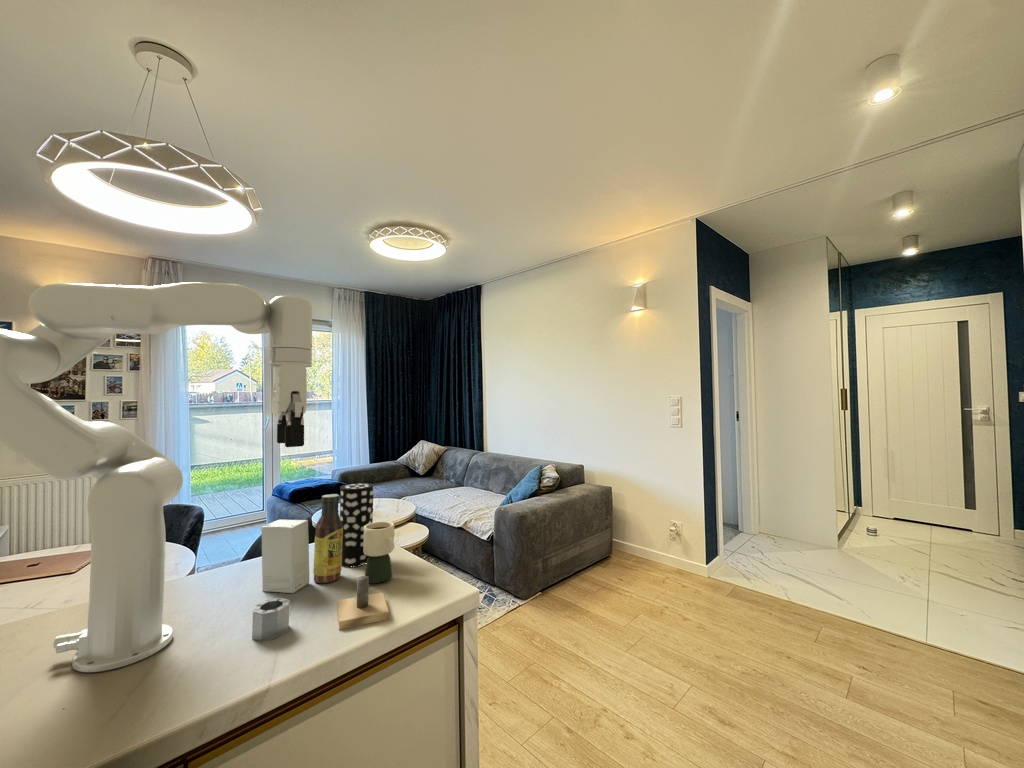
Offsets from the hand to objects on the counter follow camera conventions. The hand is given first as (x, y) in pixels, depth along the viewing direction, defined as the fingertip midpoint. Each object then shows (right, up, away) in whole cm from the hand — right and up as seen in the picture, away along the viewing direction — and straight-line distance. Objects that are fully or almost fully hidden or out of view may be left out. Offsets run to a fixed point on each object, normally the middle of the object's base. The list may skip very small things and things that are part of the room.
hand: (289, 444), depth 82 cm
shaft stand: (+14, -34, +1) cm, 37 cm away
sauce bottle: (0, -35, +18) cm, 39 cm away
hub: (-1, -34, -6) cm, 34 cm away
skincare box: (-8, -35, +13) cm, 38 cm away
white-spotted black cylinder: (+2, -36, +29) cm, 46 cm away
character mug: (+12, -35, +17) cm, 41 cm away
